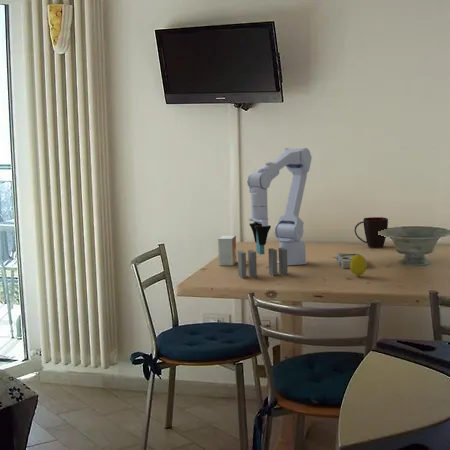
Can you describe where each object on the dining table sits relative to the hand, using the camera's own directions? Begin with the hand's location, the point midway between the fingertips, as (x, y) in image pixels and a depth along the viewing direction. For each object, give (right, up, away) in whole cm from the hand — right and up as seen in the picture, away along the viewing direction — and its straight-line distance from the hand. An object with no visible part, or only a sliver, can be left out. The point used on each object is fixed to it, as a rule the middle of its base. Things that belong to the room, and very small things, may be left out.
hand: (260, 243), depth 246 cm
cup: (+49, -3, +45) cm, 67 cm away
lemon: (+33, -11, -10) cm, 36 cm away
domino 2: (-3, -11, -4) cm, 12 cm away
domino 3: (+4, -11, -3) cm, 12 cm away
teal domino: (0, -3, 0) cm, 3 cm away
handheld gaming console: (+35, -9, +11) cm, 37 cm away
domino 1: (-7, -12, -5) cm, 14 cm away
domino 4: (+8, -11, -2) cm, 13 cm away
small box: (-12, -8, +19) cm, 24 cm away
